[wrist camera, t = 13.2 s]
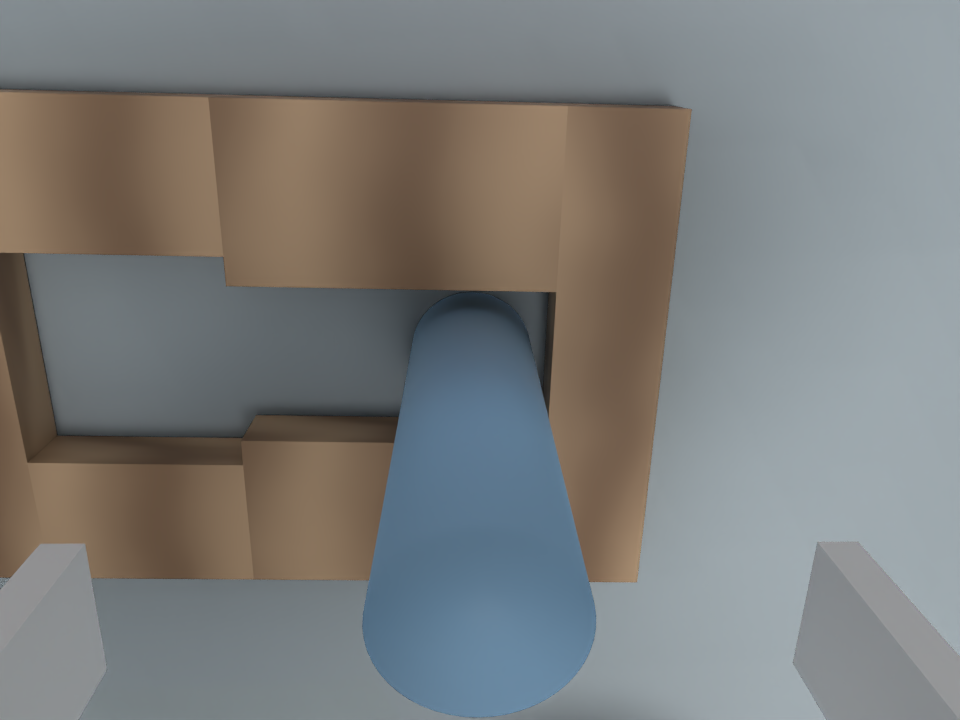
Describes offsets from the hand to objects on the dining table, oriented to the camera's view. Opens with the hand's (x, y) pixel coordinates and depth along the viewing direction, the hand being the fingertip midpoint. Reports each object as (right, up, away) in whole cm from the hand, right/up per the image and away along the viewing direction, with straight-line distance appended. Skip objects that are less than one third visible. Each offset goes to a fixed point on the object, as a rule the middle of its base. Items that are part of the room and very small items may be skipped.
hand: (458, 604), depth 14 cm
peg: (0, +5, +12) cm, 13 cm away
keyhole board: (-6, +5, +12) cm, 14 cm away
